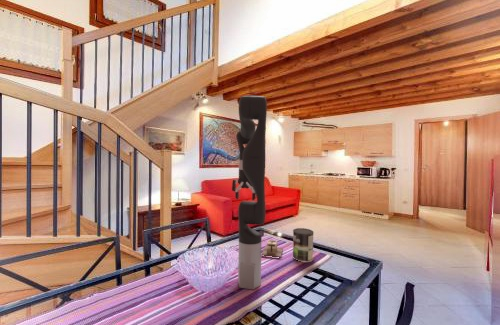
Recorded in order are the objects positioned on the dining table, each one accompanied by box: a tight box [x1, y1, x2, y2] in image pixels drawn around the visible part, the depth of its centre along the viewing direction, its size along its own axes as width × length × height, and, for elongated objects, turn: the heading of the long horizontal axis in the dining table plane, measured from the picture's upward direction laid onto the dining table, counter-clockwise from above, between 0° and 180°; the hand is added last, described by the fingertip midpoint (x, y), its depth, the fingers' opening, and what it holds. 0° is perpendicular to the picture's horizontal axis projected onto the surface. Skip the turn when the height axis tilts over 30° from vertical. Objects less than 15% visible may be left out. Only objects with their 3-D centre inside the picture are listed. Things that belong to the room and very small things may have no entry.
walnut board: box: [261, 246, 284, 259], centre depth 126 cm, size 12×10×1 cm
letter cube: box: [266, 239, 278, 253], centre depth 126 cm, size 5×5×5 cm
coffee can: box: [292, 227, 314, 263], centre depth 120 cm, size 10×10×14 cm
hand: (245, 199), depth 123 cm, fingers open, 8 cm apart
